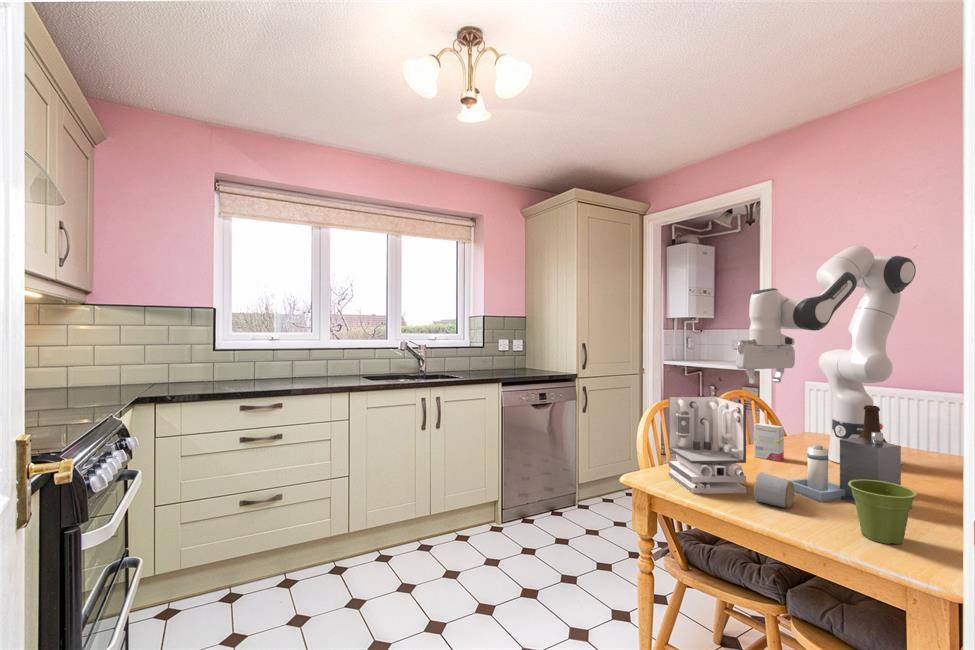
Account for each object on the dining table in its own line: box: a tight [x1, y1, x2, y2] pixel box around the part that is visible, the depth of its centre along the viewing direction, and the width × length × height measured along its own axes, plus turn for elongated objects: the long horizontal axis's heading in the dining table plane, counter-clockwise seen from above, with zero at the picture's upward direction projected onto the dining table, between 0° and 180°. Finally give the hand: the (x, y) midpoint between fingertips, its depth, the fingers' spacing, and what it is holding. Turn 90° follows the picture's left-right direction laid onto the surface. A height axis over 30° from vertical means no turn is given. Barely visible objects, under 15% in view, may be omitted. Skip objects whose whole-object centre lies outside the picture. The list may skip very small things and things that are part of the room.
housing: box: [839, 432, 912, 510], centre depth 129 cm, size 11×13×19 cm
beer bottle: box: [858, 404, 888, 443], centre depth 140 cm, size 8×8×24 cm
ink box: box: [753, 422, 785, 462], centre depth 172 cm, size 9×5×12 cm, turn 42°
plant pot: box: [848, 480, 918, 545], centre depth 107 cm, size 12×12×11 cm
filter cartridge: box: [806, 444, 829, 491], centre depth 136 cm, size 5×5×13 cm
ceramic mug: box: [753, 472, 796, 509], centre depth 129 cm, size 11×8×8 cm
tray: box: [788, 477, 845, 503], centre depth 136 cm, size 11×11×2 cm
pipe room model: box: [668, 396, 747, 494], centre depth 142 cm, size 16×19×25 cm
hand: (765, 383), depth 153 cm, fingers open, 8 cm apart
